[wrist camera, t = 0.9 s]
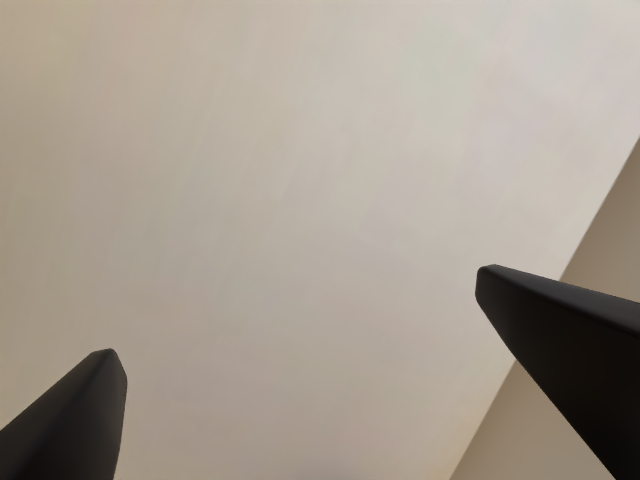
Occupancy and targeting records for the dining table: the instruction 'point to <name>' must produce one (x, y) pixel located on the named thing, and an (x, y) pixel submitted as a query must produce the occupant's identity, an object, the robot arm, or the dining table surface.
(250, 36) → the dining table surface
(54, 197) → the dining table surface
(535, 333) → the robot arm
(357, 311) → the dining table surface
